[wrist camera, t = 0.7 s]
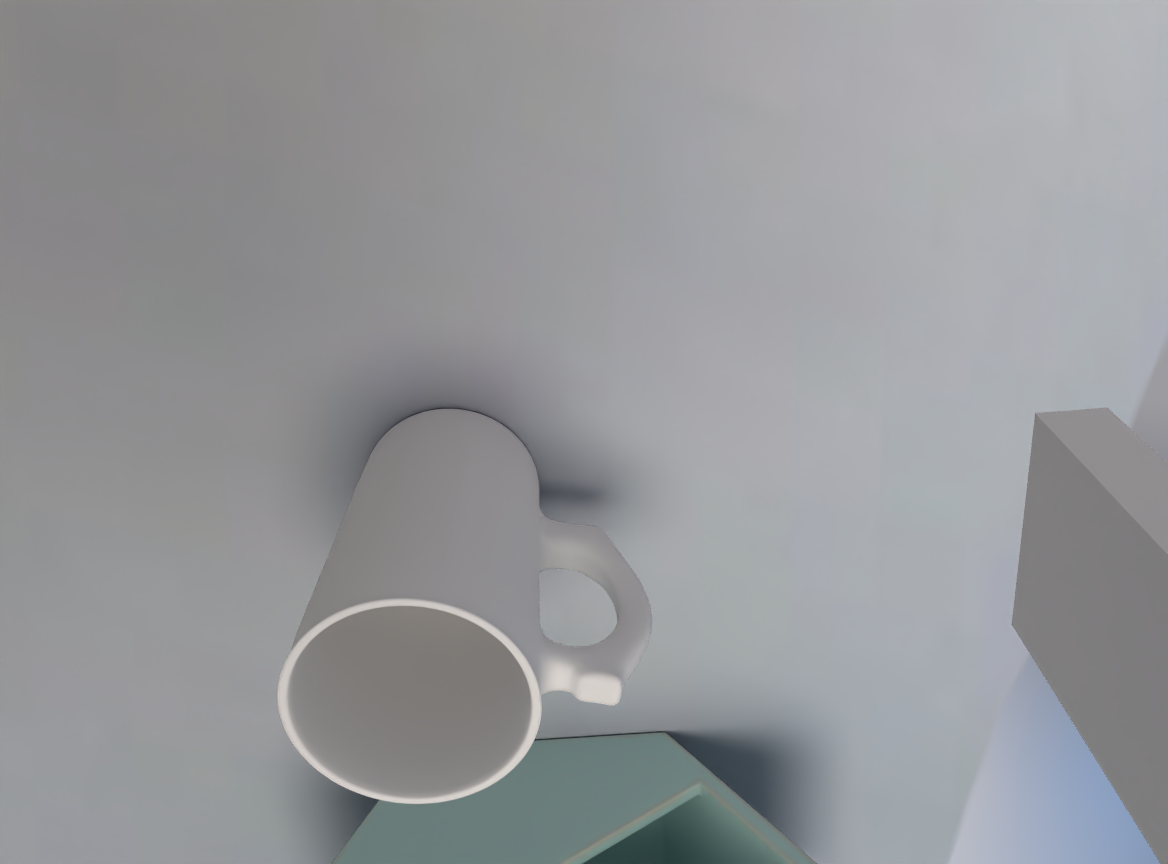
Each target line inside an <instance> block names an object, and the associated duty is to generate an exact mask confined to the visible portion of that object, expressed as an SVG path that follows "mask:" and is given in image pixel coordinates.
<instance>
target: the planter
mask: <svg viewBox="0 0 1168 864" xmlns="http://www.w3.org/2000/svg"><path fill="white" fill-rule="evenodd" d="M331 864H817V863H816V862H815V861H814V860H812V859H811V858H810V857H809V856H808V855H807V854H806V853H804V852H803V851H802V850H801V849H800V848H799V847H797V846H796V845H795V844H794V843H793V842H792V841H791V840H789V839H788V838H787V837H786V836H785V835H784V834H782V833H781V832H780V831H779V830H778V829H777V828H776V827H774V826H773V825H772V824H771V823H770V822H769V821H767V820H766V819H765V818H764V817H763V816H762V815H761V814H759V813H758V812H757V811H756V810H755V809H754V808H752V807H751V806H750V805H749V804H748V803H747V802H745V801H744V800H743V799H742V798H741V797H740V796H739V795H737V794H736V793H735V792H734V791H733V790H732V789H730V788H729V787H728V786H727V785H726V784H725V783H724V782H722V781H721V780H720V779H719V778H718V777H717V776H715V775H714V774H713V773H712V772H711V771H710V770H709V769H707V768H706V767H705V766H704V765H703V764H702V763H700V762H699V761H698V760H697V759H696V758H695V757H694V756H692V755H691V754H690V753H689V752H688V751H687V750H685V749H684V748H683V747H682V746H681V745H680V744H678V743H677V742H676V741H675V740H674V739H673V738H671V737H670V736H669V735H668V734H666V733H662V732H660V733H644V734H628V735H613V736H597V737H581V738H566V739H550V740H535V741H534V742H533V744H532V745H531V747H530V749H529V751H528V752H527V754H526V755H525V756H524V758H523V759H522V760H521V761H520V762H519V763H518V765H517V766H516V767H515V768H514V769H513V770H511V771H510V772H509V773H508V774H507V775H506V776H504V777H503V778H501V779H500V780H499V781H497V782H495V783H494V784H492V785H490V786H489V787H487V788H485V789H483V790H481V791H478V792H476V793H473V794H471V795H468V796H465V797H462V798H458V799H454V800H450V801H445V802H438V803H428V804H405V803H395V802H389V801H383V800H379V801H378V802H377V803H376V805H375V806H374V807H373V809H372V810H371V811H370V813H369V814H368V815H367V817H366V818H365V819H364V821H363V822H362V823H361V825H360V826H359V827H358V829H357V830H356V831H355V833H354V834H353V835H352V836H351V838H350V839H349V840H348V842H347V843H346V844H345V846H344V847H343V848H342V850H341V851H340V852H339V854H338V855H337V856H336V858H335V859H334V860H333V862H332V863H331Z"/></svg>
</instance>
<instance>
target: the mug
mask: <svg viewBox="0 0 1168 864" xmlns="http://www.w3.org/2000/svg"><path fill="white" fill-rule="evenodd" d="M545 569H567V570H573V571H577V572H579V573H582V574H584V575H586V576H588V577H589V578H591V579H593V580H594V581H595V582H597V583H598V584H599V585H601V586H602V587H603V588H604V590H605V591H606V592H607V593H608V595H609V597H610V598H611V600H612V602H613V604H614V606H615V610H616V613H617V619H618V622H617V625H616V627H615V629H614V630H613V632H612V633H611V634H610V635H609V636H608V637H607V638H606V639H604V640H602V641H601V642H599V643H597V644H594V645H590V646H583V647H574V646H567V645H562V644H559V643H556V642H553V641H552V640H550V639H549V638H547V637H546V636H545V635H544V633H543V631H542V629H541V626H540V616H539V573H540V572H541V571H543V570H545ZM651 627H652V615H651V608H650V604H649V600H648V597H647V595H646V592H645V590H644V588H643V586H642V584H641V582H640V581H639V579H638V577H637V576H636V574H635V573H634V571H633V570H632V568H631V567H630V566H629V564H628V563H627V561H626V560H625V559H624V557H623V556H622V555H621V553H620V552H619V551H618V549H617V548H616V547H615V545H614V544H613V542H612V541H611V540H610V538H609V537H608V536H607V534H606V533H605V532H604V531H603V530H602V529H601V528H599V527H596V526H590V525H575V524H567V523H562V522H557V521H554V520H551V519H549V518H547V517H545V516H544V515H543V514H542V512H541V510H540V508H539V480H538V475H537V470H536V467H535V464H534V462H533V460H532V457H531V456H530V454H529V452H528V450H527V449H526V447H525V446H524V444H523V443H522V442H521V441H520V440H519V438H518V437H517V436H516V435H515V434H513V433H512V432H511V431H510V430H509V429H508V428H506V427H505V426H503V425H502V424H500V423H499V422H497V421H495V420H493V419H491V418H489V417H487V416H484V415H482V414H479V413H476V412H472V411H467V410H461V409H436V410H430V411H426V412H422V413H419V414H416V415H413V416H411V417H409V418H407V419H405V420H403V421H401V422H400V423H398V424H397V425H395V426H394V427H393V428H391V429H390V430H389V431H388V432H387V433H386V434H385V435H384V436H383V437H382V438H381V439H380V441H379V442H378V443H377V445H376V446H375V448H374V449H373V451H372V453H371V455H370V457H369V459H368V462H367V464H366V466H365V468H364V471H363V473H362V475H361V477H360V479H359V482H358V484H357V486H356V489H355V491H354V494H353V496H352V499H351V501H350V504H349V506H348V509H347V511H346V514H345V516H344V519H343V521H342V524H341V526H340V529H339V531H338V533H337V536H336V538H335V541H334V543H333V546H332V548H331V550H330V553H329V555H328V558H327V560H326V563H325V565H324V567H323V570H322V572H321V575H320V577H319V580H318V582H317V584H316V587H315V589H314V592H313V594H312V597H311V599H310V601H309V604H308V606H307V609H306V611H305V614H304V616H303V619H302V621H301V624H300V626H299V629H298V631H297V634H296V637H295V640H294V643H293V646H292V649H291V652H290V653H289V655H288V657H287V659H286V661H285V663H284V665H283V668H282V671H281V674H280V677H279V682H278V689H277V702H278V709H279V714H280V717H281V721H282V723H283V726H284V728H285V731H286V733H287V735H288V736H289V738H290V740H291V742H292V743H293V745H294V746H295V747H296V749H297V750H298V751H299V753H300V754H301V755H302V756H303V757H304V758H305V759H306V760H307V761H308V762H309V763H310V764H311V765H312V766H313V767H314V768H315V769H316V770H318V771H319V772H320V773H322V774H323V775H324V776H326V777H327V778H329V779H330V780H332V781H334V782H335V783H337V784H339V785H341V786H343V787H345V788H347V789H349V790H351V791H354V792H356V793H359V794H361V795H364V796H368V797H371V798H375V799H379V800H383V801H389V802H395V803H405V804H428V803H438V802H445V801H450V800H454V799H458V798H462V797H465V796H468V795H471V794H473V793H476V792H478V791H481V790H483V789H485V788H487V787H489V786H490V785H492V784H494V783H495V782H497V781H499V780H500V779H501V778H503V777H504V776H506V775H507V774H508V773H509V772H510V771H511V770H513V769H514V768H515V767H516V766H517V765H518V763H519V762H520V761H521V760H522V759H523V758H524V756H525V755H526V754H527V752H528V751H529V749H530V747H531V745H532V744H533V742H534V740H535V737H536V735H537V732H538V729H539V726H540V721H541V714H542V701H541V695H543V694H545V693H547V692H551V691H567V692H570V693H572V694H573V695H574V696H575V697H576V698H577V699H578V700H581V701H585V702H593V703H600V704H605V705H610V706H613V705H616V704H617V703H618V702H619V701H620V698H621V694H622V688H623V686H624V684H625V682H626V681H627V679H628V678H629V677H630V675H631V674H632V672H633V671H634V669H635V668H636V666H637V665H638V663H639V661H640V659H641V658H642V656H643V654H644V652H645V649H646V647H647V645H648V642H649V638H650V634H651Z"/></svg>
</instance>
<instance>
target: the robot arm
mask: <svg viewBox="0 0 1168 864" xmlns="http://www.w3.org/2000/svg"><path fill="white" fill-rule="evenodd" d="M1012 626H1013V627H1014V629H1015V630H1016V632H1017V634H1018V635H1019V637H1020V638H1021V640H1022V642H1023V643H1024V645H1025V646H1026V648H1027V650H1028V651H1029V653H1030V654H1031V656H1032V658H1033V659H1034V661H1035V662H1036V664H1037V666H1038V667H1039V669H1040V671H1041V672H1042V674H1043V675H1044V677H1045V679H1046V680H1047V682H1048V683H1049V685H1050V686H1051V688H1052V690H1053V691H1054V693H1055V694H1056V696H1057V698H1058V699H1059V701H1060V703H1061V704H1062V706H1063V707H1064V709H1065V711H1066V712H1067V714H1068V715H1069V717H1070V719H1071V720H1072V722H1073V723H1074V725H1075V727H1076V728H1077V730H1078V732H1079V733H1080V735H1081V736H1082V738H1083V740H1084V741H1085V743H1086V744H1087V746H1088V748H1089V749H1090V751H1091V753H1092V754H1093V756H1094V757H1095V759H1096V761H1097V762H1098V764H1099V765H1100V767H1101V769H1102V770H1103V772H1104V773H1105V775H1106V777H1107V778H1108V780H1109V781H1110V783H1111V785H1112V786H1113V788H1114V789H1115V791H1116V793H1117V794H1118V796H1119V797H1120V799H1121V801H1122V802H1123V804H1124V806H1125V807H1126V809H1127V810H1128V812H1129V814H1130V815H1131V817H1132V818H1133V820H1134V822H1135V823H1136V825H1137V826H1138V828H1139V830H1140V831H1141V833H1142V834H1143V836H1144V838H1145V839H1146V841H1147V843H1148V844H1149V846H1150V847H1151V849H1152V851H1153V852H1154V854H1155V855H1156V857H1157V859H1158V860H1159V862H1160V863H1161V864H1168V463H1167V462H1166V461H1165V460H1164V459H1163V458H1162V457H1160V456H1159V455H1158V454H1157V453H1156V452H1155V451H1154V450H1153V449H1152V448H1151V447H1150V446H1149V445H1147V444H1146V443H1145V442H1144V441H1143V440H1142V439H1141V438H1140V437H1139V436H1138V435H1137V434H1135V433H1134V432H1133V431H1132V430H1131V429H1130V428H1129V427H1128V426H1127V425H1126V424H1125V423H1123V422H1122V421H1121V420H1120V419H1119V418H1118V417H1117V416H1116V415H1115V414H1114V413H1113V412H1111V411H1110V410H1109V409H1108V408H1097V409H1084V410H1071V411H1058V412H1045V413H1035V420H1034V429H1033V438H1032V447H1031V456H1030V465H1029V474H1028V483H1027V492H1026V501H1025V510H1024V519H1023V528H1022V537H1021V546H1020V555H1019V564H1018V573H1017V582H1016V591H1015V600H1014V609H1013V618H1012Z"/></svg>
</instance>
